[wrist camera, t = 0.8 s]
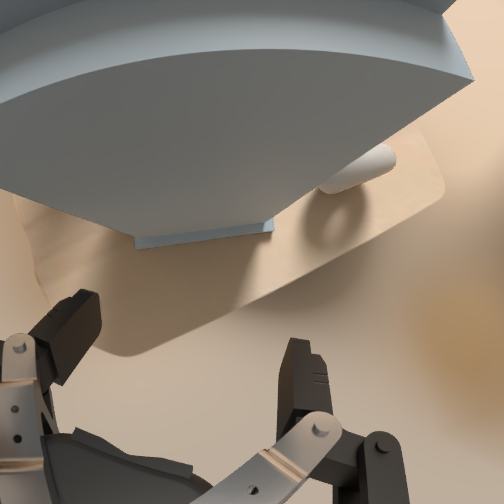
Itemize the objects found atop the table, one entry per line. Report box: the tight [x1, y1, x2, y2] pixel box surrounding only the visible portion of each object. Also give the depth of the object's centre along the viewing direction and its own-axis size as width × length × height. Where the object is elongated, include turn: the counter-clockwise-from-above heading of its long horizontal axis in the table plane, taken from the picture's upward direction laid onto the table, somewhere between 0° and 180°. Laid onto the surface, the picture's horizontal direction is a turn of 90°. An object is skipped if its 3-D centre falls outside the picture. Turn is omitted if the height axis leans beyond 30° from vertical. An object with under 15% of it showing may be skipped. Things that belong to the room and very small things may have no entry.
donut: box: [318, 144, 396, 194], centre depth 34 cm, size 10×4×10 cm, turn 113°
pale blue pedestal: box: [0, 0, 474, 250], centre depth 20 cm, size 12×16×34 cm
